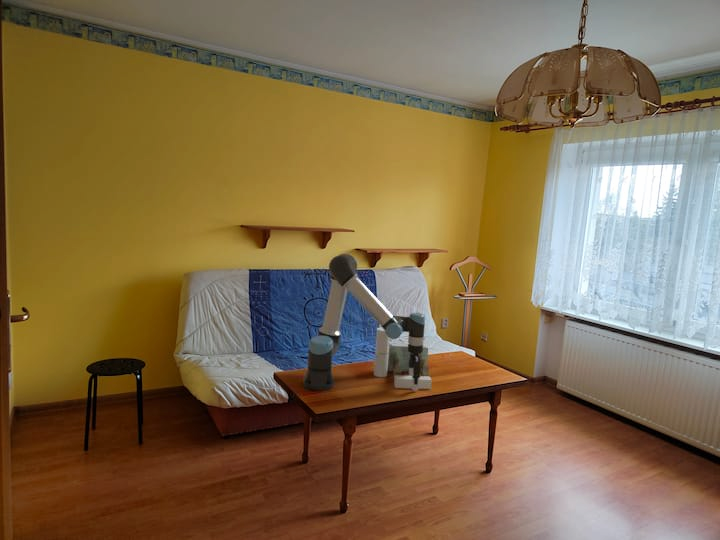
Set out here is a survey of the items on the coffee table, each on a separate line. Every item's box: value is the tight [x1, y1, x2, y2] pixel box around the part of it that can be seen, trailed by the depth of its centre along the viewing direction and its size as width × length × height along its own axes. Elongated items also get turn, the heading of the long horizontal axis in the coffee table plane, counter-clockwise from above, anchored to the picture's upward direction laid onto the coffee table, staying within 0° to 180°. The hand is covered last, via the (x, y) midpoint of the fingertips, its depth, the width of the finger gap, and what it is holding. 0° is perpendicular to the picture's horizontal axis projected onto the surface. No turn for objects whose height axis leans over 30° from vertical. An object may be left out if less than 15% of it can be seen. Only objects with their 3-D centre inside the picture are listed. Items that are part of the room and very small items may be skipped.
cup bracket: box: [387, 345, 430, 378], centre depth 247 cm, size 22×19×14 cm
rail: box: [393, 374, 433, 390], centre depth 234 cm, size 18×5×5 cm, turn 94°
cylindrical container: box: [373, 327, 391, 378], centre depth 247 cm, size 7×7×25 cm
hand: (412, 385), depth 234 cm, fingers open, 13 cm apart
